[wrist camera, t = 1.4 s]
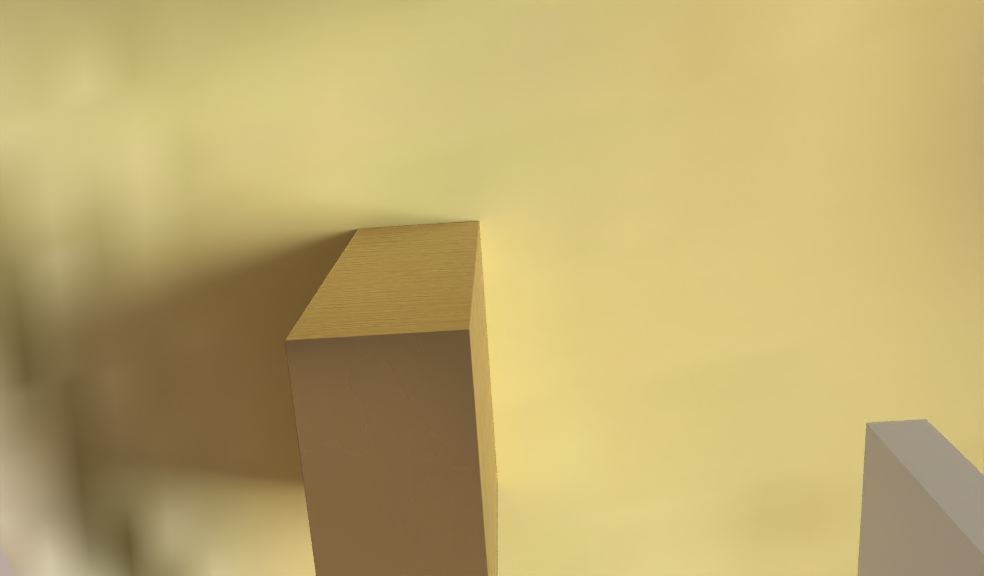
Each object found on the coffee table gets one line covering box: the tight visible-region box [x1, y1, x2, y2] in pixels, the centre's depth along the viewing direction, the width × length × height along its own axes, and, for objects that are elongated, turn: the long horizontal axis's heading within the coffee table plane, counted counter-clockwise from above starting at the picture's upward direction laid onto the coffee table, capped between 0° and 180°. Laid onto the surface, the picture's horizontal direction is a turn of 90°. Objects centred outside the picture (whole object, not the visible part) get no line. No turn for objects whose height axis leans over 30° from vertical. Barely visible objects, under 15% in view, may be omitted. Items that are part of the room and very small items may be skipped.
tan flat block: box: [285, 221, 498, 576], centre depth 17 cm, size 6×2×7 cm, turn 4°
